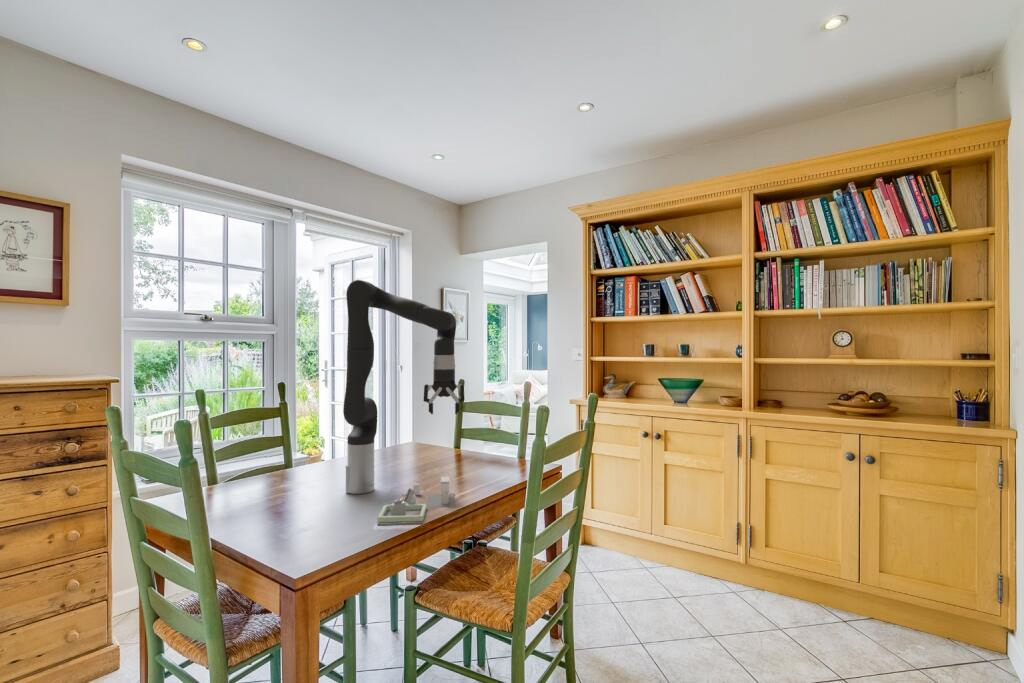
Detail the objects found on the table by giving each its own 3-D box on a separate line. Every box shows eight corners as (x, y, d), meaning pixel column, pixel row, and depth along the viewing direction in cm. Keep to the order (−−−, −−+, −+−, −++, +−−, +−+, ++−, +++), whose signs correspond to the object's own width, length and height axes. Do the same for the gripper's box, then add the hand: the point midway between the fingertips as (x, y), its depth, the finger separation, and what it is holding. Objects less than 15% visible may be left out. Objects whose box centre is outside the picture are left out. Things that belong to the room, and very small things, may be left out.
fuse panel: (395, 512, 153) (395, 496, 153) (402, 498, 167) (402, 484, 167) (453, 510, 154) (453, 495, 154) (455, 496, 168) (455, 482, 168)
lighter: (392, 519, 145) (392, 492, 145) (390, 518, 146) (390, 491, 146) (415, 515, 149) (415, 488, 149) (412, 513, 150) (412, 487, 150)
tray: (377, 526, 141) (377, 517, 141) (384, 513, 152) (384, 505, 152) (422, 524, 142) (422, 516, 142) (426, 511, 153) (426, 503, 153)
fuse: (440, 503, 158) (440, 481, 158) (441, 497, 164) (441, 476, 164) (448, 502, 158) (449, 481, 158) (449, 497, 164) (449, 476, 164)
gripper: (422, 368, 168) (422, 415, 168) (464, 368, 169) (464, 415, 169) (424, 367, 175) (424, 412, 175) (464, 367, 177) (464, 412, 177)
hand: (444, 413), depth 172 cm, fingers open, 8 cm apart
